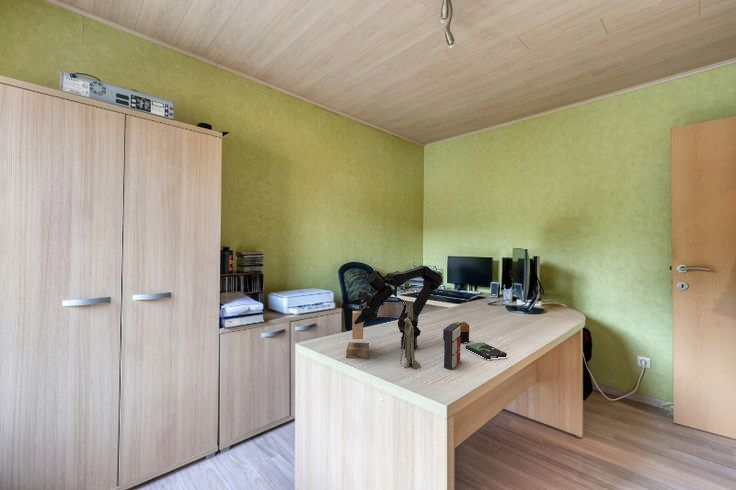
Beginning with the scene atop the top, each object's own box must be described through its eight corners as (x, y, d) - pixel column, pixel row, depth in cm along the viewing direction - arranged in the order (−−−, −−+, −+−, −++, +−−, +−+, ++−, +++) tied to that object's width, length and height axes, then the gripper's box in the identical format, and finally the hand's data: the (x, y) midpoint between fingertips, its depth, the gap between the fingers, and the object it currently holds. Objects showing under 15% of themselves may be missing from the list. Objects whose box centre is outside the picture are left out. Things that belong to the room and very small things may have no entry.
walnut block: (368, 351, 135) (369, 342, 135) (367, 359, 126) (368, 349, 126) (348, 351, 136) (348, 342, 136) (346, 358, 127) (346, 349, 127)
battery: (469, 343, 149) (469, 322, 149) (456, 343, 148) (456, 323, 148) (464, 340, 154) (465, 320, 153) (452, 340, 152) (452, 320, 152)
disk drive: (507, 359, 130) (483, 347, 144) (507, 353, 130) (483, 341, 144) (487, 362, 127) (464, 350, 141) (487, 355, 127) (464, 343, 141)
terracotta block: (362, 336, 134) (362, 310, 134) (363, 339, 130) (363, 313, 130) (352, 336, 134) (352, 310, 134) (352, 339, 129) (352, 313, 129)
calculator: (453, 370, 116) (454, 331, 116) (442, 367, 119) (443, 329, 119) (461, 361, 126) (462, 324, 126) (450, 359, 128) (451, 323, 128)
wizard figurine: (395, 360, 125) (396, 299, 125) (414, 358, 127) (416, 298, 127) (404, 370, 115) (405, 304, 115) (425, 368, 117) (426, 303, 117)
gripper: (366, 280, 141) (341, 304, 141) (369, 286, 123) (341, 313, 122) (382, 298, 142) (358, 321, 141) (388, 306, 123) (360, 333, 122)
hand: (354, 322), depth 132 cm, fingers closed on terracotta block, 4 cm apart
